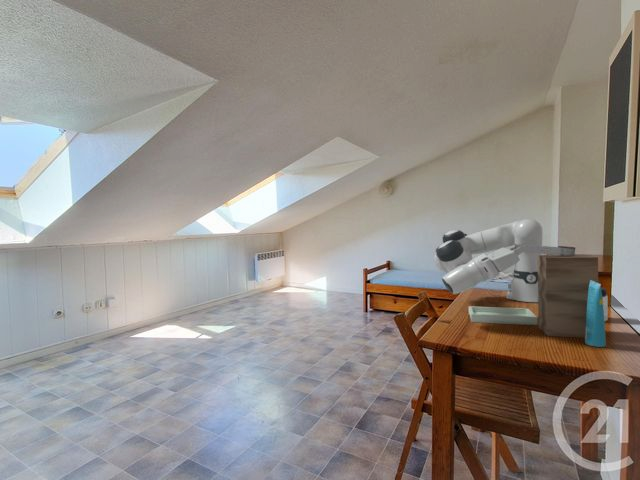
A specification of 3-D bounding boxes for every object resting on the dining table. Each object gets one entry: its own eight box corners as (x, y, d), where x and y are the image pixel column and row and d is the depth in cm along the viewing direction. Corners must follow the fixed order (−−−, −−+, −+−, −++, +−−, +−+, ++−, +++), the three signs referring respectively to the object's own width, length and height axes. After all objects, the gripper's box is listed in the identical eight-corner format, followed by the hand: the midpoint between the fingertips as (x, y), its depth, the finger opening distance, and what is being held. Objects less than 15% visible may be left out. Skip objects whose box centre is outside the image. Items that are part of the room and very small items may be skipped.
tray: (468, 313, 140) (468, 306, 140) (528, 316, 133) (528, 308, 133) (471, 321, 128) (471, 314, 128) (537, 325, 121) (537, 317, 121)
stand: (538, 326, 119) (537, 254, 118) (585, 329, 115) (584, 254, 114) (547, 335, 110) (546, 257, 109) (598, 338, 105) (598, 257, 104)
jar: (602, 324, 119) (601, 291, 119) (575, 319, 126) (574, 288, 126) (610, 319, 124) (610, 287, 124) (584, 315, 131) (583, 285, 131)
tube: (611, 349, 96) (611, 284, 96) (592, 348, 98) (591, 284, 97) (597, 340, 103) (597, 279, 103) (579, 340, 105) (579, 279, 104)
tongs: (514, 250, 118) (515, 242, 117) (571, 255, 112) (572, 246, 112) (516, 251, 115) (516, 243, 115) (574, 256, 109) (575, 247, 109)
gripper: (487, 269, 129) (522, 251, 124) (496, 277, 110) (538, 256, 105) (478, 255, 130) (512, 237, 125) (485, 261, 110) (526, 240, 106)
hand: (524, 246), depth 115 cm, fingers closed on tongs, 3 cm apart
